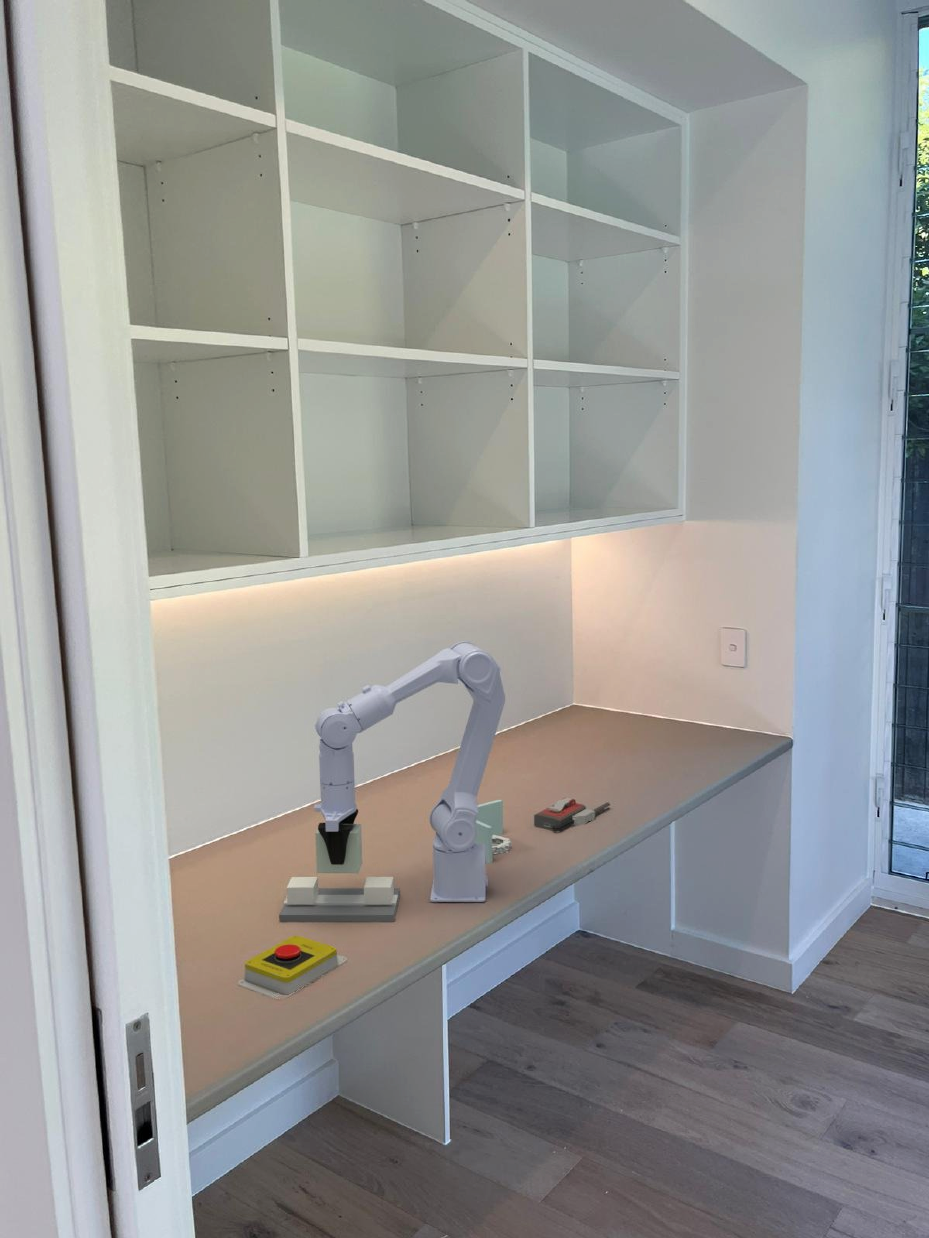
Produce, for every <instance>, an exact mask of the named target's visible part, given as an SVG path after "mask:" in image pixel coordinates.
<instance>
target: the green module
mask: <svg viewBox="0 0 929 1238" xmlns="http://www.w3.org/2000/svg"><path fill="white" fill-rule="evenodd" d="M343 825H353V827H352V829H351V831H350V833H349V837H348V841H347V848H346V856H345V861H344V864H343V865H332V864H331V862H330V859H329V855H328V851H327V847H326V844H325V841H324V839H323V837H322V836H321V834H320V833H319V830H318V828H317V829H316V831H315V833H314V834H315V855H316V856H315V859H316V860H315V861H316V874H359V873H360V871H361V868H362V865H363V848H362V847H363V846H362V845H363V844H362V843H363V841H362V839H363V838H362V823H354V824H343Z"/></svg>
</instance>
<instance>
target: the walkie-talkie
mask: <svg viewBox="0 0 929 1238" xmlns="http://www.w3.org/2000/svg"><path fill="white" fill-rule="evenodd" d="M610 806H611V803H610V802H605V803H604V804H602V805H600V806H598V807H596V808H594V809H590V808H589V809H588V808H587V807H586V805H584V804H582V803H577V801H576V799H575V798H570V797H563V798H561V799H559V800H557V801H556V802H555V803H554V804H553V805H550V806H549V807H547V808H545V809H543V810H541V811H539V812H537V813H535V814H534V815H533V821H534V822H533V826H534V828H538V829H539V828H540V829H542V830H543V829H544V830H548V831H552V832H562V831H564V830H566V829H568V828H569V827H571V826H574V825H575V826H582V825H581V824H584V825H587V824H588V823H589V822H588V821H590V822H591V820H592V821H594V820H595V819H596V815H597V814H599V813H601V812H602V811H604V810H605V809H606V808H608V807H610ZM594 818H595V819H594ZM593 819H594V820H593ZM587 822H588V823H587ZM570 825H571V826H570Z"/></svg>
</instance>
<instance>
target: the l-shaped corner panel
mask: <svg viewBox="0 0 929 1238" xmlns="http://www.w3.org/2000/svg"><path fill="white" fill-rule="evenodd" d="M503 807H504V805H503V800H502V799H495V800H492V801H489V802H485V803H481V804H478V816H477V820H476V825H477V837H476V840H475V842H474V843H477V844H483V845H485V854H486V863H487V864H491V863H493V862H494V861H493V855H504V854H505V853H509V851H511V848H512V841H511V840H510V838H508V837H504V836H502V835H503V834H504V816H503V815H504V812H503V811H504V808H503ZM500 835H501V836H500Z"/></svg>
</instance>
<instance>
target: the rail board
mask: <svg viewBox="0 0 929 1238" xmlns="http://www.w3.org/2000/svg"><path fill="white" fill-rule="evenodd" d="M285 897H286V898H285V899H284V901H283V906H282V908H281V910H280V912H279V914H278V919H279V920H278V921H279V923H281V922H282V923H290V922H291V923H310V922H311V923H313V922H314V923H325V922H326V923H331V922H332V923H340V922H341V923H372V922H373V923H381V922H382V923H389V922H390V923H394V921H395V918H396V913H397V910H398V909H397V908H398V905H399V900H400V897H401V888H399V887H394V876H367V877H366V880H365V883H364V886H363V888H362V887H361V888H360V887H357V888H356V887H352V888H351V887H346V888H345V887H344V888H343V887H339V888H338V887H335V888H334V887H329V888H328V887H320V888H319V877H318V876H291V878H290V880H289V882H288V884H287V886H286V896H285Z"/></svg>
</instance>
